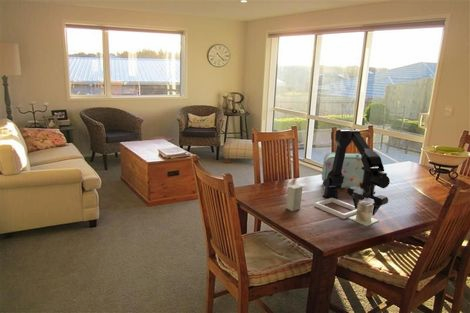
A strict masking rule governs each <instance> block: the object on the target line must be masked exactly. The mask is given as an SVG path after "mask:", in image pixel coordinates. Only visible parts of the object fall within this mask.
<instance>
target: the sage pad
mask: <svg viewBox="0 0 470 313" xmlns="http://www.w3.org/2000/svg"><path fill="white" fill-rule="evenodd" d="M347 219H349V220H352V221H354V222H356V223H358V224H361V225H362V226H366V227H368V226H370V225H373V224H375V223H378V222H379V221H380V220H379V219H377V218H375V217H373V216H372V217H371V220H369V221H366V222H364V221H362V220H359V219H357V218H356V215H353V216H351V217H348V218H347Z"/></svg>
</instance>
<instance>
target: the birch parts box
mask: <svg viewBox="0 0 470 313" xmlns="http://www.w3.org/2000/svg"><path fill="white" fill-rule="evenodd" d="M373 207H374V205H373V202H372V203H371V202H369V201H366V200H363V201H362V200H360V201H359V203H358V207H357V214H356V218H357V219H359V220H362V221H364V222H366V221H369V220H371V217H372V218H373V216H372V212H373Z"/></svg>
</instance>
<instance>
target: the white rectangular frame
mask: <svg viewBox="0 0 470 313" xmlns="http://www.w3.org/2000/svg"><path fill="white" fill-rule="evenodd" d="M330 203H334V204H336V205H338V206H341V207H344V208H347V209H349V210H350V211H348V212H345V213H343V212H341V211H338V210H336V209H334V208H331V207H329V206H326V205H328V204H330ZM314 207H315V208H318V209H320V210H322V211H325V212H327V213H329V214H332V215H333V216H336V217H339V218H341V219H344V220H346V219H348V218H349V217H351V216H354V215H356V214H357V209H355V206H354V204H351V203H347V202H346V201H343V200H340V199H338V198H337V199H335V198H329V199H328V198H326V199H322V200H320V201H316V202H314Z"/></svg>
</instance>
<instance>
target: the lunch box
mask: <svg viewBox="0 0 470 313" xmlns="http://www.w3.org/2000/svg"><path fill="white" fill-rule="evenodd" d="M335 153H336V152H329V153H326V154H325V156H324V159H323V164H322V171H321V180H322V183H323V182H324V181H325V180H326V179H327V176H328V173H329V172H330V171H331V170H332V168H333V163H334V158H335ZM362 167H364V165H363V163H362V161H361V154H360V153H359V152H358V153H357V152H356V153H347V152H346V153H345V157H344V162H343V167H342V171H341V172H342V175H343V176H344V180H343V183H342V185H341V188H340V189H348V188H349V187H353V186H355V187H359V186H360V184H361V183H362V181H363V174H364V170H362V169H361V168H362Z"/></svg>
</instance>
